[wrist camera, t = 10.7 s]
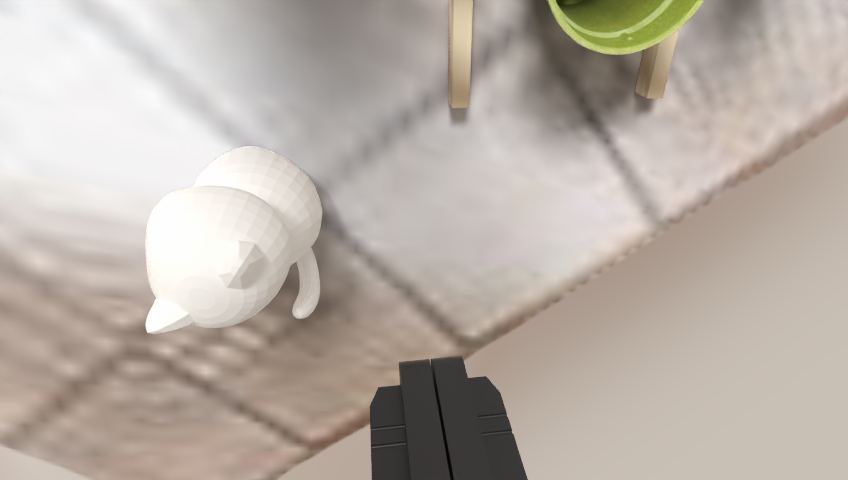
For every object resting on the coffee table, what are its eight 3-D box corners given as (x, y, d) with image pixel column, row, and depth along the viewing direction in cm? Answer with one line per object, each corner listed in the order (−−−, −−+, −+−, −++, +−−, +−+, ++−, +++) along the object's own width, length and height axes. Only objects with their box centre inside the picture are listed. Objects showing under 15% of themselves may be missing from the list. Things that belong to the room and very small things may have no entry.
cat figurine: (257, 101, 34) (193, 193, 21) (368, 225, 40) (370, 355, 27) (166, 173, 36) (58, 298, 23) (284, 282, 42) (250, 428, 29)
